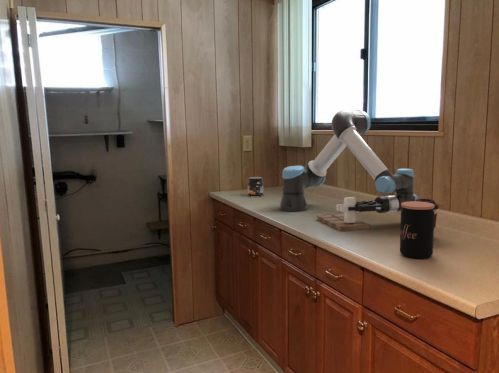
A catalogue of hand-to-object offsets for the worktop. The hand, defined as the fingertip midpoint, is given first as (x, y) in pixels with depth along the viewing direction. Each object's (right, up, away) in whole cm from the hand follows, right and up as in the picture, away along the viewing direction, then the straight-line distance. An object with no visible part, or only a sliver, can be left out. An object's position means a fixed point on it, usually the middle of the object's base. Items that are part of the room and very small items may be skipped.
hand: (338, 208), depth 181 cm
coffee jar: (+19, -14, -38) cm, 45 cm away
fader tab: (+5, -6, +2) cm, 9 cm away
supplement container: (-35, +3, +94) cm, 100 cm away
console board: (+3, -8, +9) cm, 13 cm away
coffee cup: (+31, -11, -15) cm, 36 cm away
